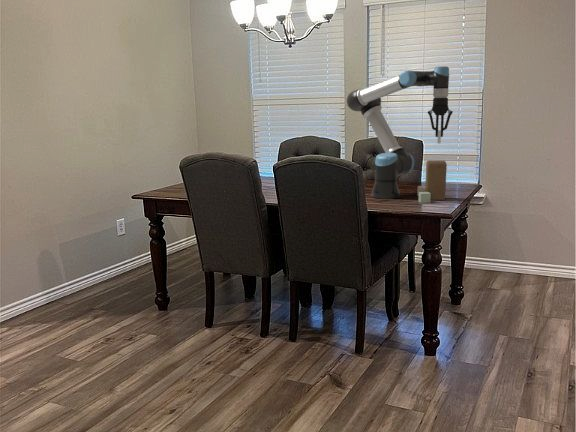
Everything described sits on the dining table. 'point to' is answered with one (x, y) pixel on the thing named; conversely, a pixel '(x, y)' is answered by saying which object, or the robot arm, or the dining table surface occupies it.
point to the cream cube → (420, 189)
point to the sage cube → (424, 197)
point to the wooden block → (436, 179)
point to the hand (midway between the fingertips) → (438, 143)
